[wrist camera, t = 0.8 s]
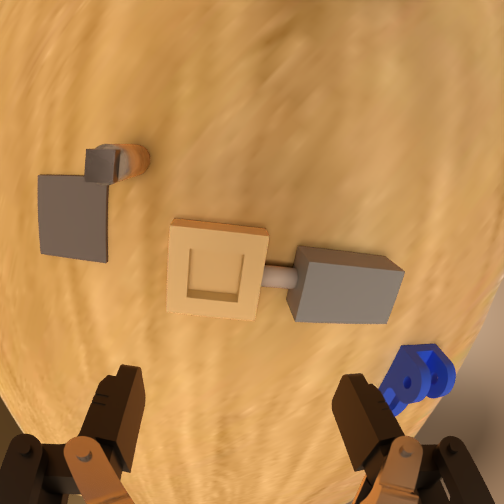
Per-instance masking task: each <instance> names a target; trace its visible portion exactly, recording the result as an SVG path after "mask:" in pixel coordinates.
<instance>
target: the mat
mask: <svg viewBox="0 0 504 504" xmlns="http://www.w3.org/2000/svg"><path fill="white" fill-rule="evenodd" d="M108 188H109V185H107V186H102V185H99V184H96V183H94V182H84V176H77V175H38V222H39V238H40V249H41V254H45V255H52V256H59V257H66V258H72V259H80V260H87V261H94V262H101V263H107V262H108V240H107V220H108Z"/></svg>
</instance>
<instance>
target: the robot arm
mask: <svg viewBox="0 0 504 504" xmlns="http://www.w3.org/2000/svg"><path fill="white" fill-rule="evenodd" d="M385 401H386V400H385V398H384V397H383V395H382V393H381V391H380V390H378V389H377V388H376V387H375V386H374V385H373V384H368V383H367V381H366V379H365V377H364V376H363V374H361V373H358V374H346V375H343V376H342V378H341V380H340V383H339V385H338V388H337V390H336V392H335V395H334V397H333V400H332V411H333V414H334V417H335V420H336V422H337V425H338V428H339V430H340V433H341V436H342V438H343V441H344V444H345V447H346V449H347V452H348V455H349V457H350V460H351V463H352V466H353V468H354V471H355V472H356V471H360V470H365V472H366V475H365V476H364V478H363V480H362V482H361V484H360V487H359V489H358V491H357V493H356V496H355V498H354V500H353V502H352V504H495V503H494V500H493V498H492V496H491V494H490V492H489V490H488V488H487V486H486V484H485V482H484V480H483V478H482V476H481V474H480V472H479V471H478V468H477V466H476V465H475V463H474V461H473V459H472V457H471V455H470V453H469V452H468V450H467V448H466V446H465V445H464V443H463V442H462V441H461V440H460V439H459V438H457V437H454V436H448V437H445V438H444V439H443V440H442V441H441V442H440V443H439V444H438V445H421V444H420V443H419V441H417V440H416V439H415V438H413V437H410V436H405V435H404V433H403V431H402V429H401V427H400V426H399V424H398V422H397V420H396V418H395V416H394V415H393V413H392V411H391V409H389V408H390V407H389V405H388V404H387V402H385ZM144 407H145V389H144V384H143V378H142V371H141V368H140V367H136V366H129V365H123V364H122V365H121V366H120V368H119V370H118V373H117V375H116V376H111V375H108V376H106V377H105V378H104V379H103V380H102V381H101V382H100V383H99V385H98V388H97V390H96V393H95V395H94V397H93V400H92V403H91V405H90V407H89V410H88V412H87V415H86V417H85V420H84V423H83V425H82V428H81V431H80V433H79V435H78V436H77V437H74V438H72V439H70V440H69V441H68V442H67V443H66V444H41V443H40V441H39V440H38V439H37V438H36V437H34V436H33V435H30V434H20V435H17V436H16V437H14V438H13V439H12V441H11V443H10V445H9V447H8V450H7V453H6V455H5V458H4V460H3V463H2V466H1V469H0V504H67V502H68V496H69V494H81V495H82V497H83V499H84V501H85V503H86V504H135V503H134V502H133V500H132V499H131V497H130V496H129V494H128V493H127V491H126V490H125V488H124V486H123V485H122V483H121V482H120V479H121V474H122V471H124V472H129V473H131V467H132V462H133V457H134V452H135V447H136V443H137V438H138V433H139V429H140V424H141V420H142V416H143V411H144ZM442 478H443V480H444V483H445V485H446V487H447V489H448V492H449V494H450V501H449V500H448V497H447V495H446V492H445V490H444V488H443V486H442V483H441V481H440V480H441V479H442Z"/></svg>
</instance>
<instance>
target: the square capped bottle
mask: <svg viewBox="0 0 504 504" xmlns="http://www.w3.org/2000/svg"><path fill="white" fill-rule="evenodd" d="M149 164H150V154H149V152H148V150H147V149H146V148H145V147H143V146H141V145H135V144H103V145H100V146H98V147H97V148H95V149H86V159H85V175H84V182H94V183H96V184H99V185H102V186H107V185H111V184H114V183H117V182H120V181H123V180H125V179H128V178H131V177H134V176H138V175H140V174H142V173H144V172H145V171H146V170H147V169H148V167H149Z"/></svg>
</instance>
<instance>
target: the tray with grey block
mask: <svg viewBox="0 0 504 504" xmlns="http://www.w3.org/2000/svg"><path fill="white" fill-rule="evenodd" d="M268 242H269V235H268V233H267V230H266V229H265V228H256V227H248V226H240V225H231V224H222V223H213V222H204V221H195V220H186V219H176V218H175V219H174V220H173V221H172V223H171V224H170V229H169V246H168V267H167V305H166V312H169V313H177V314H186V315H195V316H204V317H214V318H225V319H236V320H248V321H255V316H256V311H257V305H258V300H259V294H260V288H261V286H263V287H274V288H286V289H289V290H288V294H287V299H286V300H287V302H288V305H289V308H290V310H291V313H292V315H293V318H294V320H295V322H312V323H344V324H387V321H388V319H389V316H390V313H391V311H392V308H393V305H394V303H395V300H396V297H397V294H398V291H399V289H400V286H401V283H402V280H403V277H404V273H405V271H403V270H402V269H401V268H400V267H398V266H397V265H396V264H394V263H393V262H392V261H391V260H389V259H388V258H387V257H385V256H378V255H370V254H362V253H354V252H346V251H338V250H330V249H322V248H314V247H305V246H298V247H297V252H296V257H295V262H294V267H293V268H290V267H280V266H270V265H265V260H266V254H267V248H268Z"/></svg>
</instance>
